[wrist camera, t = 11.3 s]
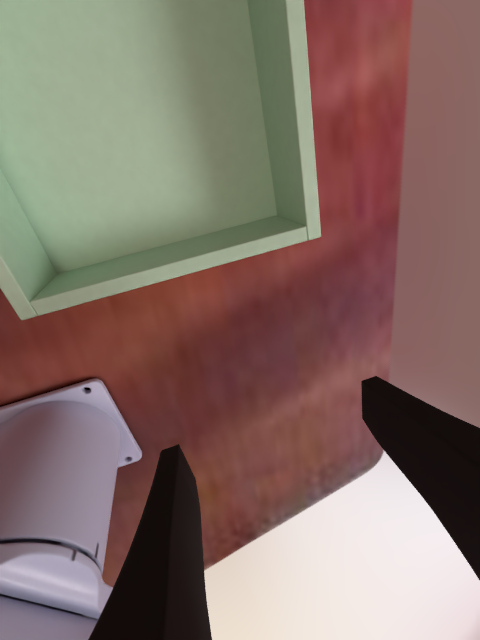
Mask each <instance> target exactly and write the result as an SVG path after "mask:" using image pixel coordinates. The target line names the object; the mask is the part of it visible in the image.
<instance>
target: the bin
mask: <svg viewBox="0 0 480 640" xmlns="http://www.w3.org/2000/svg"><path fill="white" fill-rule="evenodd" d="M319 237H321V229H320V215H319V201H318V188H317V174H316V161H315V147H314V134H313V120H312V106H311V93H310V79H309V66H308V52H307V39H306V25H305V12H304V0H0V289H1V290H2V292H3V293H4V295H5V296H6V298H7V299H8V301H9V302H10V304H11V306H12V307H13V309H14V310H15V312H16V313H17V315H18V316H19V318H20V319H21V320H25V319H29V318H32V317H36V316H38V315H43V314H47V313H50V312H54V311H57V310H61V309H64V308H68V307H72V306H75V305H79V304H82V303H86V302H90V301H93V300H97V299H100V298H104V297H107V296H111V295H115V294H118V293H122V292H125V291H129V290H132V289H136V288H140V287H143V286H147V285H150V284H154V283H157V282H161V281H165V280H168V279H172V278H175V277H179V276H183V275H186V274H190V273H193V272H197V271H200V270H204V269H208V268H211V267H215V266H218V265H222V264H225V263H229V262H233V261H236V260H240V259H243V258H247V257H251V256H254V255H258V254H261V253H265V252H268V251H272V250H276V249H279V248H283V247H286V246H290V245H293V244H297V243H301V242H304V241H307V240H311V239H315V238H319Z"/></svg>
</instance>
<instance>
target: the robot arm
mask: <svg viewBox="0 0 480 640" xmlns="http://www.w3.org/2000/svg"><path fill="white" fill-rule="evenodd" d="M84 387H88V388H90V390H86V389H84ZM362 418H363V420H364V422H365V423H366V425H367V426H368V428H369V430H370V431H371V433H372V434H373V436H374V437H375V439H376V440H377V442H378V443H379V444H380V446H381V447H382V448H383V449H384V451H385V452H386V453H387V454H388V455H389V457H390V458H391V459H392V460H393V462H394V463H395V464H396V465H397V466H398V468H399V469H400V470H401V471H402V473H403V474H404V475H405V476H406V477H407V479H408V480H409V481H410V482H411V483H412V485H413V486H414V487H415V488H416V490H417V491H418V492H419V493H420V494H421V496H422V497H423V498H424V499H425V501H426V502H427V503H428V505H429V506H430V507H431V509H432V510H433V511H434V513H435V514H436V516H437V517H438V518H439V520H440V522H441V523H442V524H443V526H444V527H445V529H446V530H447V532H448V533H449V534H450V536H451V537H452V539H453V540H454V542H455V543H456V545H457V546H458V548H459V549H460V551H461V552H462V554H463V555H464V557H465V558H466V560H467V561H468V563H469V564H470V566H471V567H472V569H473V571H474V572H475V574H476V575H477V577H478V578H479V580H480V428H478V427H476V426H474V425H471V424H469V423H467V422H465V421H463V420H460V419H458V418H456V417H454V416H452V415H450V414H448V413H446V412H443V411H441V410H439V409H437V408H435V407H433V406H431V405H429V404H427V403H425V402H424V401H422V400H420V399H418V398H416V397H414V396H412V395H410V394H408V393H407V392H405V391H403V390H401V389H399V388H397V387H395V386H393V385H392V384H390V383H388V382H386V381H384V380H383V379H381V378H379V377H377V376H375V377H372V378H369V379H366V380H363V381H362ZM127 457H129V458H127ZM141 457H142V451H141V449H140V448H139V446H138V444H137V442H136V440H135V439H134V437H133V435H132V433H131V431H130V430H129V428H128V426H127V424H126V422H125V421H124V419H123V417H122V415H121V414H120V412H119V410H118V408H117V406H116V405H115V403H114V401H113V399H112V397H111V396H110V394H109V392H108V390H107V388H106V387H105V385H104V383H103V382H102V381H101V380H100V379H96V378H95V379H90V380H87V381H84V382H80V383H77V384H74V385H71V386H67V387H64V388H61V389H58V390H54V391H51V392H48V393H45V394H42V395H38V396H35V397H32V398H29V399H25V400H22V401H19V402H16V403H12V404H9V405H6V406H3V407H0V640H212V637H211V630H210V623H209V616H208V609H207V601H206V592H205V580H204V562H203V546H202V529H201V513H200V504H199V498H198V492H197V486H196V480H195V477H194V475H193V473H192V471H191V469H190V467H189V464H188V462H187V460H186V458H185V456H184V454H183V452H182V450H181V448H180V446H179V445H176V446H173V447H170V448H167V449H164V450H162V451H161V453H160V457H159V461H158V465H157V469H156V472H155V476H154V480H153V483H152V486H151V490H150V493H149V496H148V499H147V502H146V505H145V508H144V511H143V514H142V517H141V520H140V523H139V526H138V528H137V531H136V534H135V536H134V539H133V542H132V544H131V547H130V550H129V552H128V555H127V557H126V560H125V562H124V564H123V567H122V569H121V571H120V574H119V576H118V578H117V581H116V583H115V585H114V587H112V586H109V585H107V584H106V583H104V581H103V580H102V572H103V565H104V558H105V551H106V544H107V537H108V530H109V523H110V516H111V509H112V502H113V495H114V488H115V481H116V474H117V468H118V467H121V466H124V465H127V464H130V463H133V462H136V461H138V460H140V459H141Z"/></svg>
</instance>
